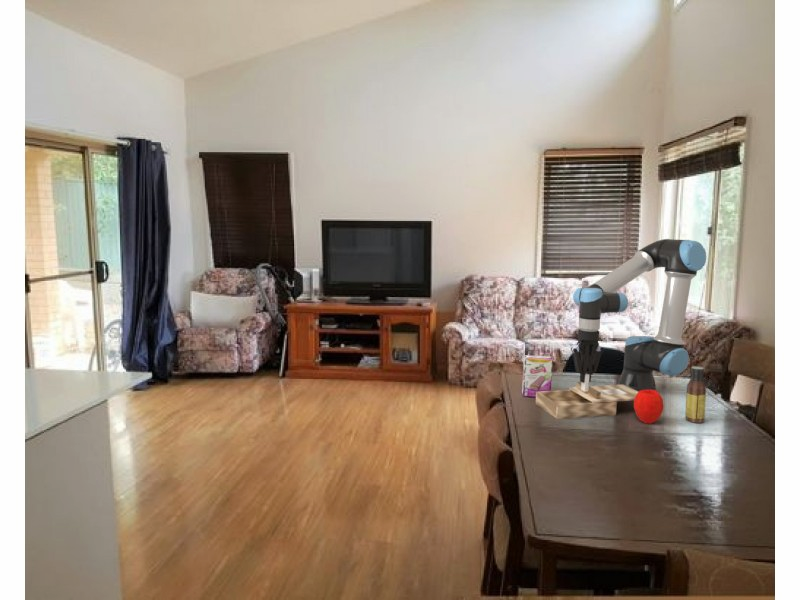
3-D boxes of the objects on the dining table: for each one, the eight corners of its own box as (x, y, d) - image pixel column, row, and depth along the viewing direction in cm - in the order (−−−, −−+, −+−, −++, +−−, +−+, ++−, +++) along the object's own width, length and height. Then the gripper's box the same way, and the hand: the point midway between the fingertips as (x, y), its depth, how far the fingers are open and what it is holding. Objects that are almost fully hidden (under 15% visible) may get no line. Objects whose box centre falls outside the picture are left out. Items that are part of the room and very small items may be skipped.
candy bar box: (522, 397, 232) (524, 357, 230) (521, 393, 237) (523, 354, 235) (551, 398, 231) (553, 359, 229) (549, 395, 236) (551, 356, 234)
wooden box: (590, 400, 230) (591, 388, 229) (615, 415, 213) (616, 402, 212) (535, 404, 224) (536, 391, 223) (557, 418, 208) (557, 405, 207)
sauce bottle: (702, 419, 211) (707, 366, 208) (705, 424, 205) (710, 370, 202) (682, 416, 213) (687, 364, 210) (685, 422, 207) (690, 368, 204)
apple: (639, 415, 213) (641, 383, 212) (666, 422, 207) (669, 389, 205) (627, 421, 207) (630, 388, 205) (655, 428, 200) (658, 395, 198)
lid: (623, 386, 232) (623, 378, 232) (650, 399, 216) (651, 391, 215) (569, 389, 226) (569, 381, 226) (593, 402, 210) (593, 394, 210)
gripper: (598, 327, 220) (594, 386, 224) (567, 327, 217) (564, 388, 220) (610, 330, 213) (605, 392, 216) (578, 331, 210) (574, 394, 213)
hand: (584, 390), depth 218 cm, fingers closed
